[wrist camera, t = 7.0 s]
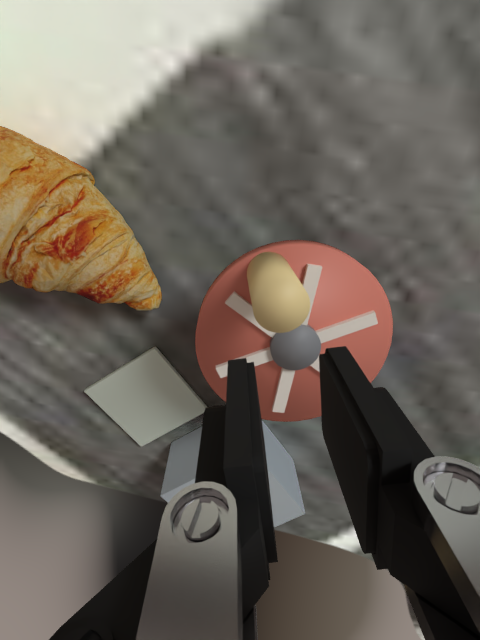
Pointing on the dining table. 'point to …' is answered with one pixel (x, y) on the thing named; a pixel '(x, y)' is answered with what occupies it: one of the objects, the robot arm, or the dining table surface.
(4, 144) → the croissant
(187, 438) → the eye block
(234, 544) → the robot arm
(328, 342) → the handwheel
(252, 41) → the dining table surface
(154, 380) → the sage mat
